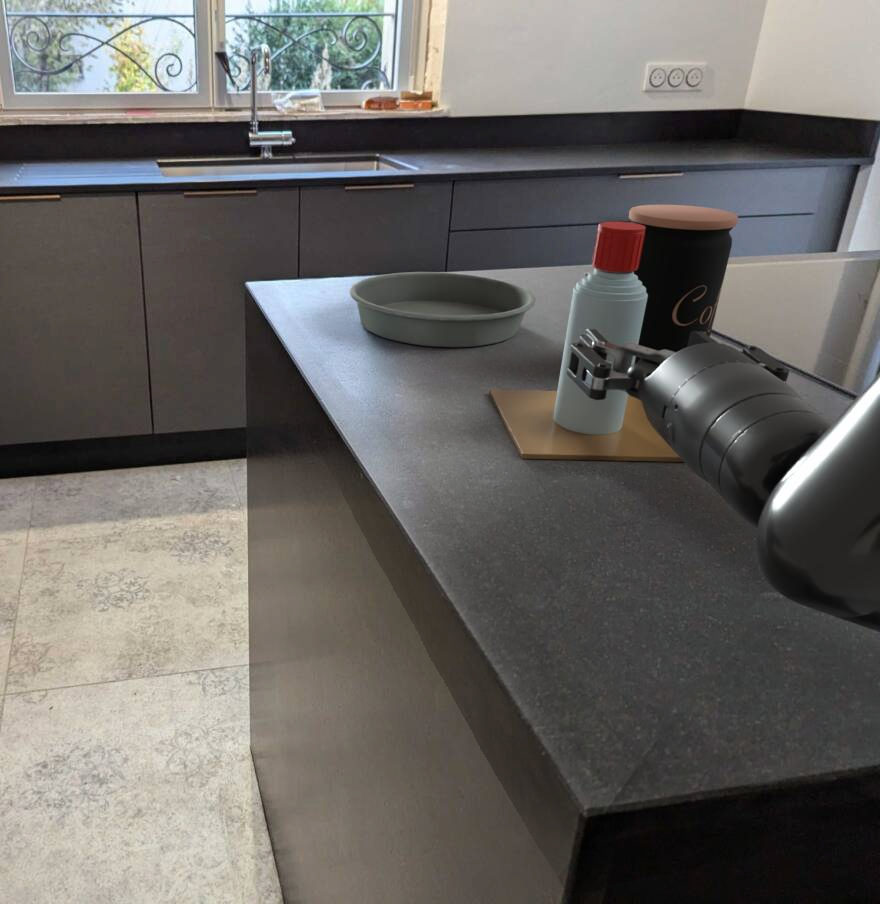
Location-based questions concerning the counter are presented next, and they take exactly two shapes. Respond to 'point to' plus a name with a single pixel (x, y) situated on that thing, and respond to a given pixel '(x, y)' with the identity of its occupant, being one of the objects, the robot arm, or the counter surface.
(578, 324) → the bottle
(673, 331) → the coffee jar
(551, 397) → the mat
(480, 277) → the cake pan
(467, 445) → the counter surface
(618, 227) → the cap
